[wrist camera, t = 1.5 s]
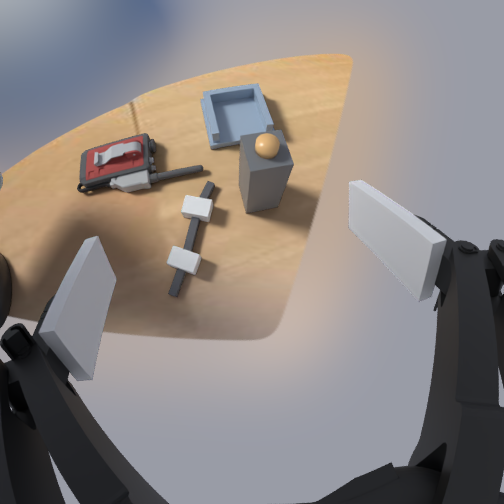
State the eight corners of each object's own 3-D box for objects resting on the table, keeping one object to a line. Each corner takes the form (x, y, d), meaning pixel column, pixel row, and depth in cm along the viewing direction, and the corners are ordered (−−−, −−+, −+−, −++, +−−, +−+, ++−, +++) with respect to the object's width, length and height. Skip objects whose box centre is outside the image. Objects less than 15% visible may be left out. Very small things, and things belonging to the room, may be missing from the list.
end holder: (210, 149, 42) (209, 137, 38) (200, 103, 44) (199, 90, 40) (275, 138, 43) (277, 126, 40) (258, 93, 45) (260, 81, 42)
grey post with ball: (246, 213, 40) (251, 165, 27) (238, 184, 41) (240, 129, 28) (277, 207, 40) (295, 158, 27) (269, 178, 41) (282, 122, 28)
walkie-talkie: (81, 207, 39) (205, 178, 41) (67, 196, 35) (202, 163, 37) (83, 159, 41) (198, 131, 43) (72, 146, 37) (195, 114, 38)
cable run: (163, 293, 37) (159, 292, 34) (194, 181, 40) (192, 174, 38) (191, 300, 37) (188, 299, 34) (220, 186, 40) (219, 179, 38)
